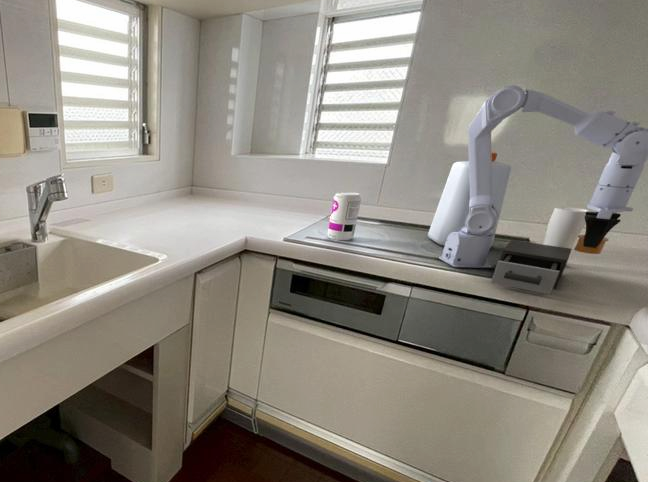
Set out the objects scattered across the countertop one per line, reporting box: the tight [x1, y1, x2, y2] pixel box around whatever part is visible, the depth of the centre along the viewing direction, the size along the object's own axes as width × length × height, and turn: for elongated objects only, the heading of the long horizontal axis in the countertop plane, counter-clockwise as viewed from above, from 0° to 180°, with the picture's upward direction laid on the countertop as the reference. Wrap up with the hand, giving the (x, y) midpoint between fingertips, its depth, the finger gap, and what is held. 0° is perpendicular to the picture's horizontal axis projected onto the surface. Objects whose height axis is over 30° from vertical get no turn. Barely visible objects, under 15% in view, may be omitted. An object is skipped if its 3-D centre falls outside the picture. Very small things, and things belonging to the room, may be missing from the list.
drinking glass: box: [542, 206, 591, 250], centre depth 109 cm, size 7×7×15 cm
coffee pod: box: [574, 234, 609, 255], centre depth 95 cm, size 5×5×3 cm
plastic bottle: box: [427, 152, 512, 248], centre depth 126 cm, size 15×15×28 cm
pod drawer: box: [490, 254, 560, 295], centre depth 94 cm, size 17×10×5 cm, turn 133°
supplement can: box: [327, 191, 362, 241], centre depth 135 cm, size 8×8×15 cm
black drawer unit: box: [498, 239, 572, 290], centre depth 101 cm, size 14×12×7 cm
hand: (589, 244), depth 95 cm, fingers closed on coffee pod, 5 cm apart
